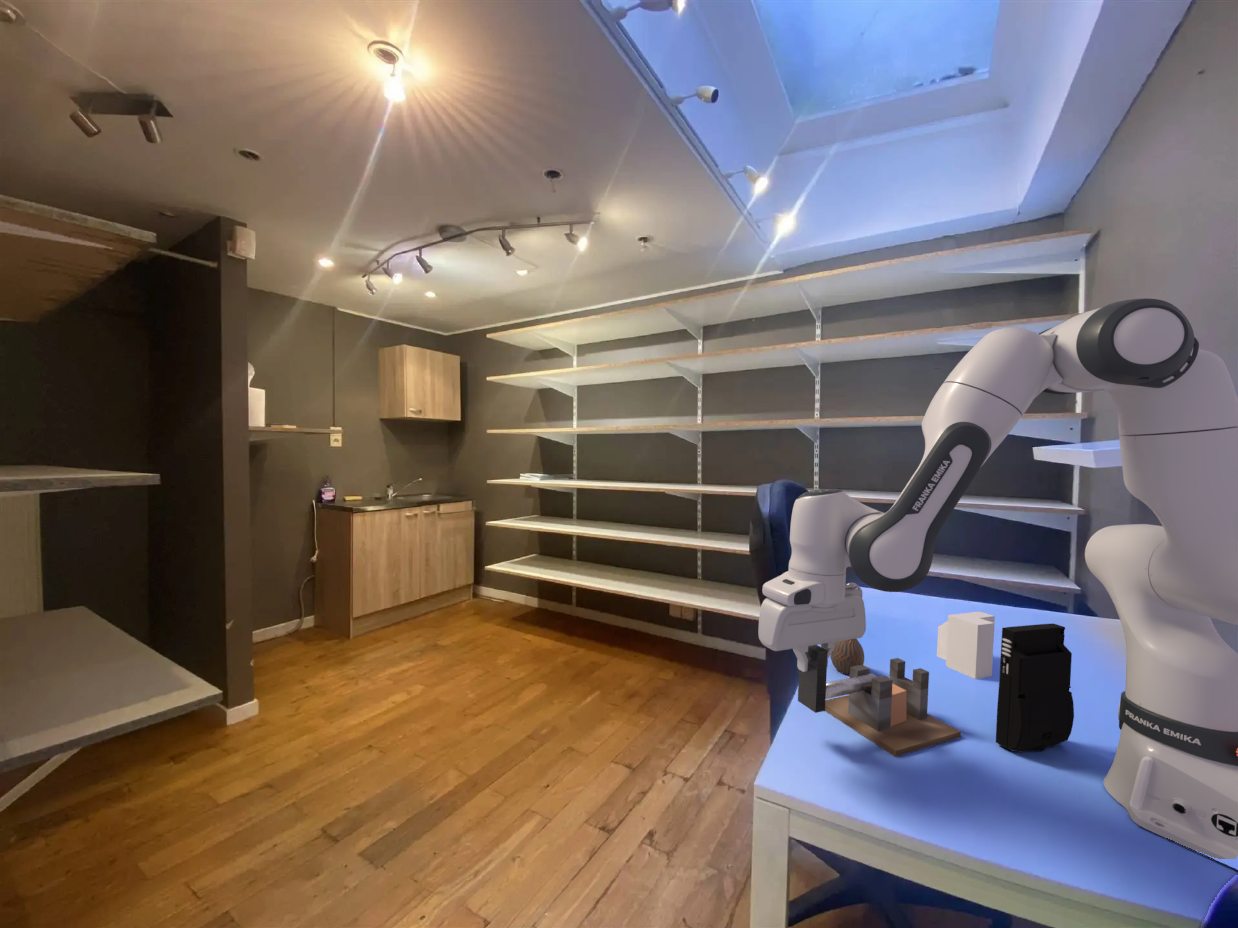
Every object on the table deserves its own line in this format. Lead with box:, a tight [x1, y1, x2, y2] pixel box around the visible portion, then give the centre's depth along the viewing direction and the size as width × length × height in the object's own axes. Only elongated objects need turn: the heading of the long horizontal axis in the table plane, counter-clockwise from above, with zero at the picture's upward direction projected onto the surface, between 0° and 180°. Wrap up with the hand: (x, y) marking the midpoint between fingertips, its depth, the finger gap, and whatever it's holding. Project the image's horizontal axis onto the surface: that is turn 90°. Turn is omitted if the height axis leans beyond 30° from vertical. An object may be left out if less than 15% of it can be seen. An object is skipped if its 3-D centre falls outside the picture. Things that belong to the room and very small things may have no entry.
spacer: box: [890, 684, 906, 726], centre depth 87 cm, size 5×4×6 cm
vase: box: [829, 638, 865, 676], centre depth 108 cm, size 7×7×9 cm
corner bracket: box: [936, 611, 996, 680], centre depth 113 cm, size 11×11×12 cm
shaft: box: [797, 645, 878, 714], centre depth 83 cm, size 4×15×10 cm, turn 112°
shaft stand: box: [824, 657, 962, 758], centre depth 87 cm, size 16×16×10 cm
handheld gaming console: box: [995, 623, 1075, 753], centre depth 81 cm, size 12×5×20 cm, turn 105°
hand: (812, 668), depth 80 cm, fingers closed on shaft, 2 cm apart
